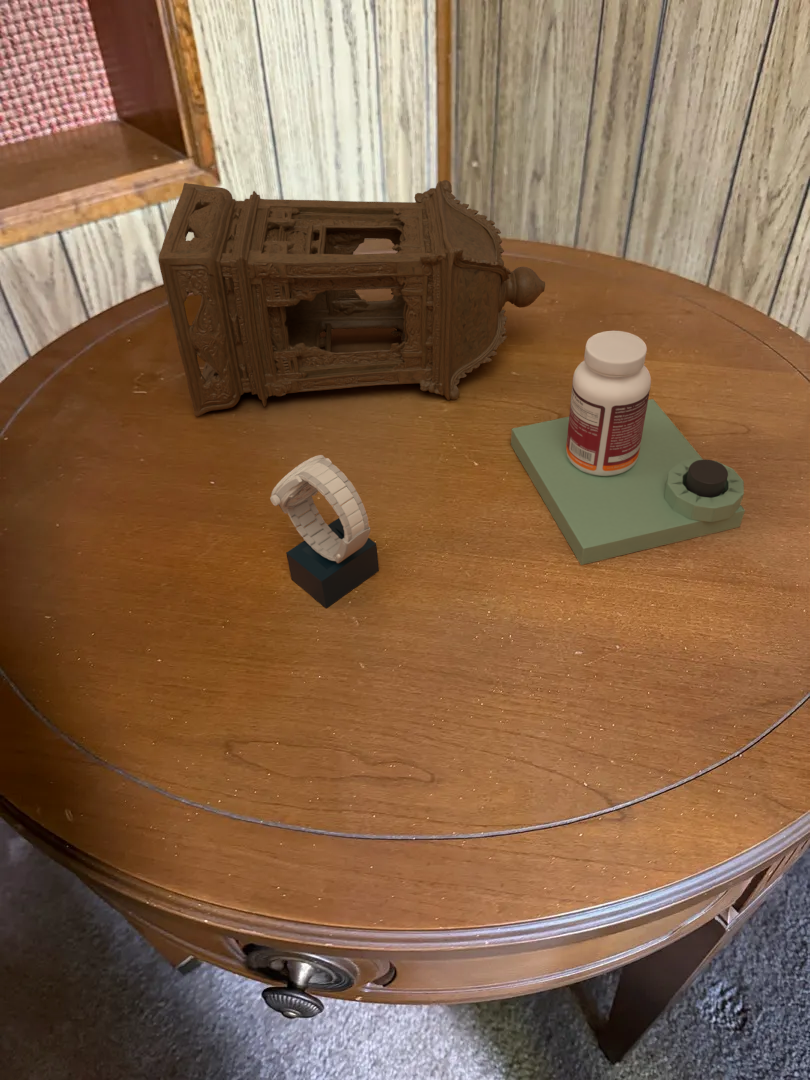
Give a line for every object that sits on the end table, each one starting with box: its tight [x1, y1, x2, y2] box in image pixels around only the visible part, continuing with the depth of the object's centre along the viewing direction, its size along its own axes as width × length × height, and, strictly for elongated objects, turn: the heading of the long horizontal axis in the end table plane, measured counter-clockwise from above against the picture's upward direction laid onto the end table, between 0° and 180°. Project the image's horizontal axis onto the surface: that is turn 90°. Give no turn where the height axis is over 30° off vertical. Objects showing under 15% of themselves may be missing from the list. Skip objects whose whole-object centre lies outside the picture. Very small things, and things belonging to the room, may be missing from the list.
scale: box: [510, 398, 746, 566], centre depth 73 cm, size 16×14×4 cm
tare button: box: [686, 458, 728, 498], centre depth 68 cm, size 3×3×2 cm
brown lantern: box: [158, 179, 546, 417], centre depth 83 cm, size 35×18×18 cm, turn 92°
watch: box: [269, 454, 380, 609], centre depth 64 cm, size 6×8×11 cm
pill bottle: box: [566, 330, 652, 476], centre depth 70 cm, size 6×6×11 cm
